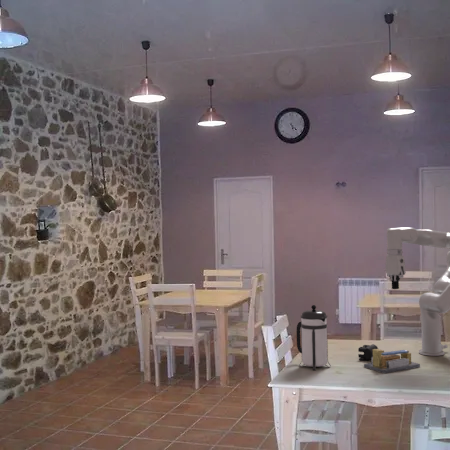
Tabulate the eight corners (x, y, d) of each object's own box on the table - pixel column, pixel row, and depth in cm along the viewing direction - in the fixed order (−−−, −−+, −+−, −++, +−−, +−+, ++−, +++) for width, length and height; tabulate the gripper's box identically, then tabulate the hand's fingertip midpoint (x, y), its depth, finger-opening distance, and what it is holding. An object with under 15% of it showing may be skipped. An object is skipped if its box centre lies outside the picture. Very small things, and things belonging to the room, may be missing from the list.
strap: (404, 351, 302) (404, 349, 302) (408, 352, 300) (408, 350, 300) (379, 354, 295) (379, 352, 295) (383, 355, 293) (383, 353, 293)
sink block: (398, 361, 308) (398, 342, 308) (419, 367, 296) (419, 347, 296) (364, 367, 298) (363, 348, 298) (384, 373, 286) (383, 353, 285)
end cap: (371, 362, 308) (371, 348, 308) (358, 360, 312) (357, 347, 312) (378, 357, 317) (378, 344, 317) (365, 356, 321) (365, 343, 321)
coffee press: (332, 363, 307) (331, 302, 306) (328, 371, 291) (327, 307, 291) (297, 362, 311) (296, 302, 311) (292, 369, 296) (290, 306, 295)
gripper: (410, 252, 310) (411, 289, 310) (390, 251, 323) (390, 287, 323) (399, 253, 306) (400, 290, 306) (378, 252, 319) (379, 288, 320)
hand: (395, 288), depth 315 cm, fingers closed
